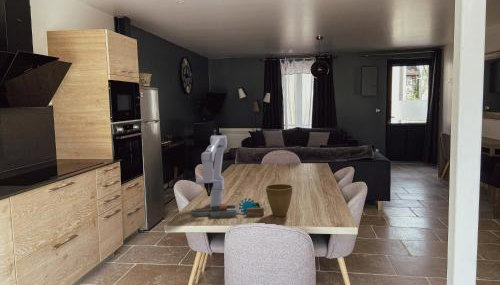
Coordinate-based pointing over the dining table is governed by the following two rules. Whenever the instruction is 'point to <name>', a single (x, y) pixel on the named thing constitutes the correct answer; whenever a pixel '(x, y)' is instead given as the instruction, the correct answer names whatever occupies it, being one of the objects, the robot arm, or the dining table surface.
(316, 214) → the dining table surface
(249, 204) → the gear
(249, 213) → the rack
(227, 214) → the socket
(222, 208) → the orange block
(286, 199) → the plant pot
